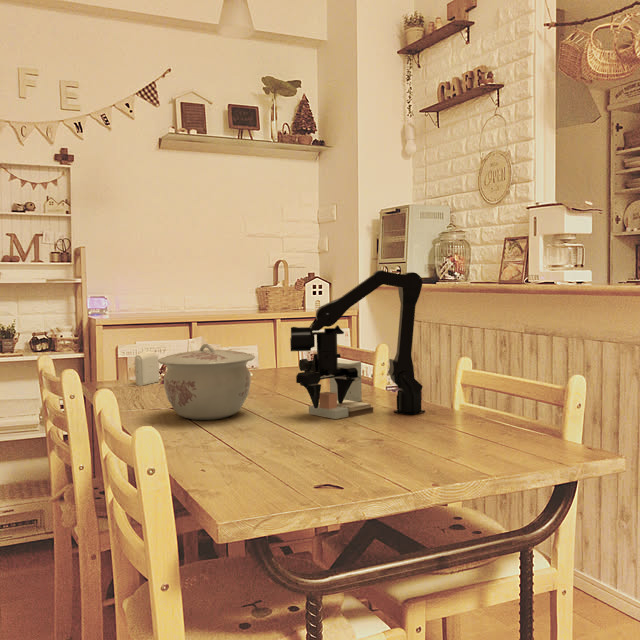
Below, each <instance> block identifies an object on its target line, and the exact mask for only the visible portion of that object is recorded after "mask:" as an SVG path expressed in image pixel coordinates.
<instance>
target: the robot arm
mask: <svg viewBox="0 0 640 640" xmlns="http://www.w3.org/2000/svg"><path fill="white" fill-rule="evenodd" d="M383 285H384V286H389V287H394V288H395V287H396V288H398V290H397V291H398V297H399V302H400V309H399V310H400V311H399V321H398V333H397V334H398V335H397V345H396V346H397V347H396V352H395V353H396V354H395V357H394V358H393V359H392V358H389V361H388V363H389V368H388V370H387V373H388V374H389V378H390V380H391V381H392V382H393V383H394V384H395V385H396V386H397V389H398V390H397V395H396V410H395V409H394V410H393V413H395V414H401V415H406V416H414V415H418V414H422V413H426V410H424V409H422V390H423V385H422V384H421V383H420V382H419V381H418V380H417V379H416V378H415V369H414V363H413V357H412V352H413V351H412V350H413V338H414V329H415V327H414V325H415V318H416V317H415V316H416V306H417V303H418V301H419V298H420V295H421V291H422V288H423V278H422V277H421V275H419V273H416V272H412V271H411V272H410V271H409V272H404V273H402V274H401V273H396V272H391V271H385V270H381V269H380V270H376V271H374V272H373V273H372V275H370V276H369V277H367V278H366V279H364V280H363V281H362V282H360V283H358V285H356V286H355V287H353V288H351V289H350V290H348V291H347V292H346V293H345V294H343V295H342V296H340V297H338V298H336V299H334V300H332V301H329V302H327V303H325V304H322V305H321V306H319V307H318V308H317V310H316V312H315V318H314V320H313V321H312V322H311V323H310V324H309V326H303V327H300V326H299V327H297V326H291V327H290V338H289V343H290V345H289V346H290V352H310V351H312V349H313V348H315V346H316V353H314V354H313V359H312V360H308V359H307V358H301V359H300V360H299V362H298V367H299V368H298V369H299V371H300V372H298V373H297V374H296V376H295V378H296V381H295V383H296V384H299V386H301V387H302V386H303V387H304V388H305V389H306V391H307V392H308V395H309V397H310V400H311V402H312V405H313V406H314V408H318V405H319V404H320V403H319V398H320V393H321V388H322V384H320V382H321V380H328V379H330V378H334V377H337V378H334V379H335V381H336V383H337V391H338V403H339V404H342V402H343V400H344V398H345V396H346V393H347V391H348V389H349V387H350V386H351V384H352V382H353V381H355V379H352V378H356V377H358V371H357V369H356V368H355V367H347V366H343V367H338V361H339V359H338V358H341V353H338V335H344V334H345V332H344V330H342V328H340V326H339V325H338V324H336V323H337V322H338V321H340V319H341V318H342V317H343V316H344V314H345V313H346V312H347V311H348V310H349V309H350V308H351V307H353V306H354V305H355V304H357V303H358V302H360V301H361V300H363V299H364V298H366V297H367V296H368V295H369V294H372V293H373V292H374V291H376V290H377V289H379V288H380V287H381V286H383ZM335 324H336V325H335ZM333 325H335V327H332V326H333ZM325 327H326V328H325ZM323 328H324V330H323V331H321V330H322V329H323ZM315 336H316V339H315ZM315 342H316V345H315Z"/></svg>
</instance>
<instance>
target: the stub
mask: <svg viewBox="0 0 640 640" xmlns="http://www.w3.org/2000/svg"><path fill="white" fill-rule="evenodd" d="M308 414H309V415H314V416H318V417H323V418H329V419H333V420H337V419H342V418H347V417H348V408H343V407H337V393H332V392H330V391H324V392H320V398H319V405H318V408H314V406H313V404H312V405H309V406H308ZM348 418H349V417H348Z"/></svg>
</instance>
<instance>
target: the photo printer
mask: <svg viewBox="0 0 640 640" xmlns="http://www.w3.org/2000/svg"><path fill="white" fill-rule="evenodd" d="M158 360H159V354H158V353H157V352H156V351H151V350H150V351H149V350H145V351H141V352H139V353H137V354H136V355H135V356H134V371H135V384H136V386H139V387H140V386H142V387H143V386H145V385H150V384H155V383H159V382H160V363H159V362H158Z"/></svg>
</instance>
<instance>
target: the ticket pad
mask: <svg viewBox="0 0 640 640" xmlns="http://www.w3.org/2000/svg"><path fill="white" fill-rule="evenodd" d="M337 407H343V408H348V418H354V417H357V416H363V415H367V414H372V413H374V407H373V406H372V404H371V403H365V402H362V401H358V402H356V401H350V400H343V402H342V404H339V403H338V401H337Z"/></svg>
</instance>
